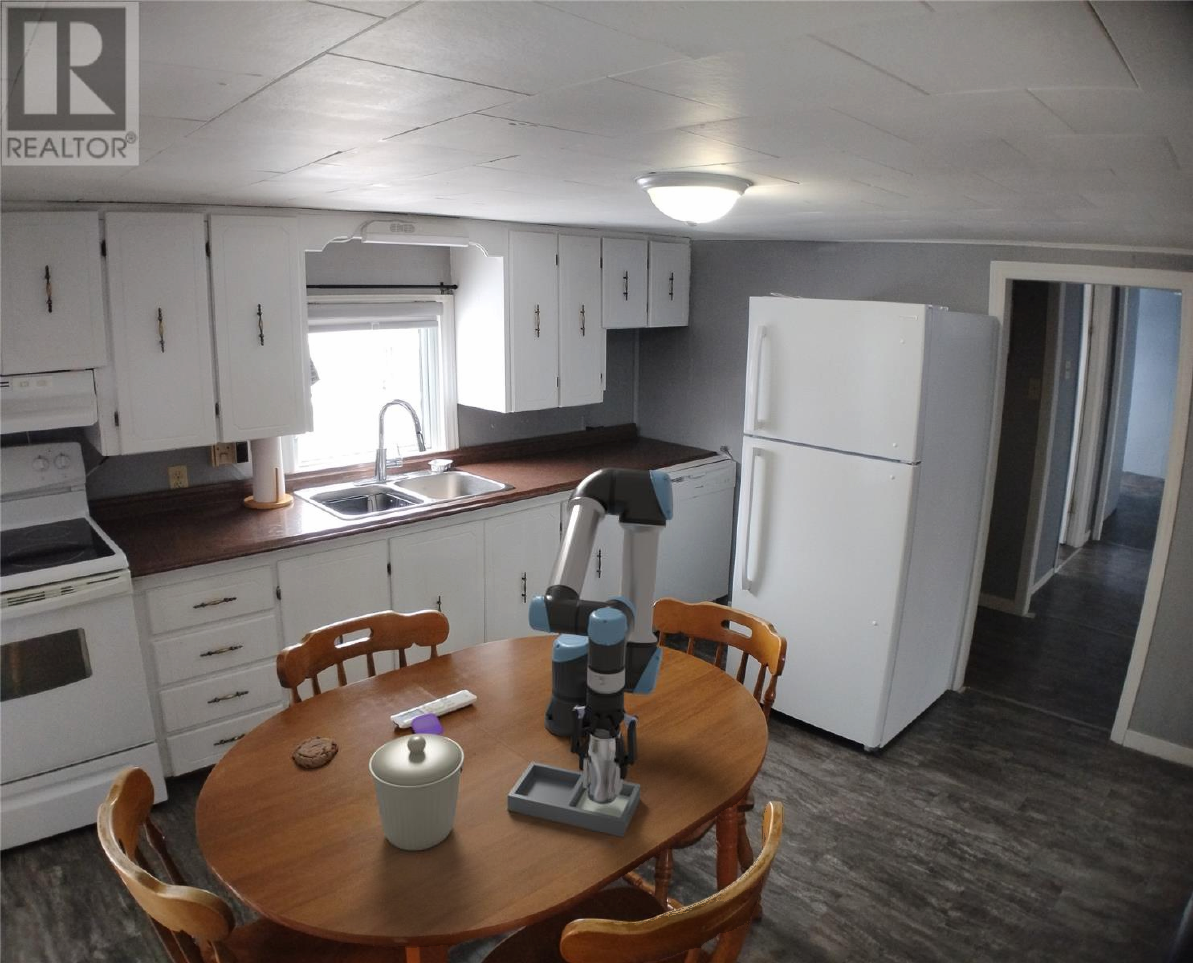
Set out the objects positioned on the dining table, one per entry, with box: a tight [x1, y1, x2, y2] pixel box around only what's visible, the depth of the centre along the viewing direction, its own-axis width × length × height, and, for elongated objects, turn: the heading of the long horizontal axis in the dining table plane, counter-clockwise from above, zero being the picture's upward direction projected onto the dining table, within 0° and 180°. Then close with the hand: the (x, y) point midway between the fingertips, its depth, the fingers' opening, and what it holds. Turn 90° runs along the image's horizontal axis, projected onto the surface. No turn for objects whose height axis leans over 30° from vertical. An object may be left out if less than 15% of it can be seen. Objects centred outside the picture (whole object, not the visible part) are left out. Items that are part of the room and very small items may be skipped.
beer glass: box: [587, 729, 622, 805], centre depth 165 cm, size 7×7×15 cm
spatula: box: [410, 712, 463, 771], centre depth 190 cm, size 24×7×2 cm, turn 31°
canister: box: [368, 733, 465, 851], centre depth 157 cm, size 18×18×21 cm
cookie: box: [291, 735, 339, 769], centre depth 185 cm, size 10×11×3 cm
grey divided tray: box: [507, 761, 641, 838], centre depth 169 cm, size 25×13×4 cm, turn 72°
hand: (602, 787), depth 167 cm, fingers closed on beer glass, 6 cm apart
